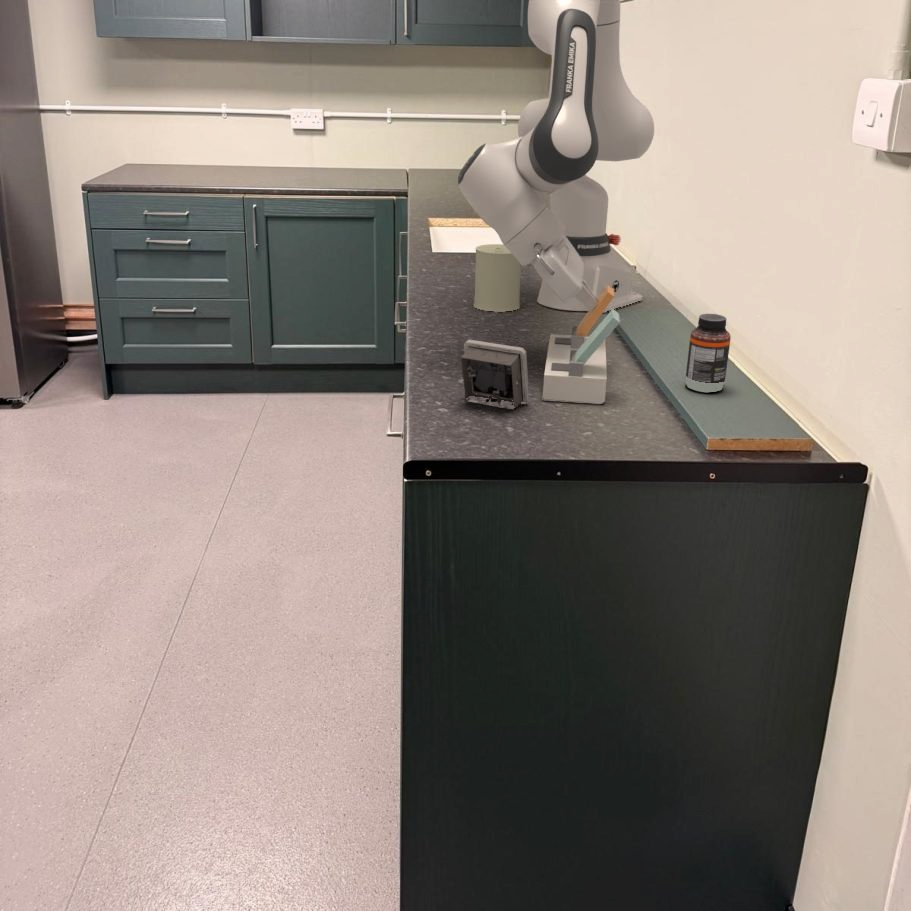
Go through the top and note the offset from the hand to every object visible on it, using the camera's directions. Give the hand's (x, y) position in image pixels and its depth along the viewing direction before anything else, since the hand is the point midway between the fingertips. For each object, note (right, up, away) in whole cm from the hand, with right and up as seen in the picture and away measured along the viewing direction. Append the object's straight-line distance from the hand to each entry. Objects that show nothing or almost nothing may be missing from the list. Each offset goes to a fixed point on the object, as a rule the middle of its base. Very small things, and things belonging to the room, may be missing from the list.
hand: (594, 305), depth 153 cm
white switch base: (-3, -11, +1) cm, 11 cm away
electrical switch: (-16, -17, -13) cm, 27 cm away
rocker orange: (-2, -5, +2) cm, 6 cm away
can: (-14, +6, +39) cm, 42 cm away
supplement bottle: (+16, -14, -4) cm, 22 cm away
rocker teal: (-4, -10, -10) cm, 15 cm away
